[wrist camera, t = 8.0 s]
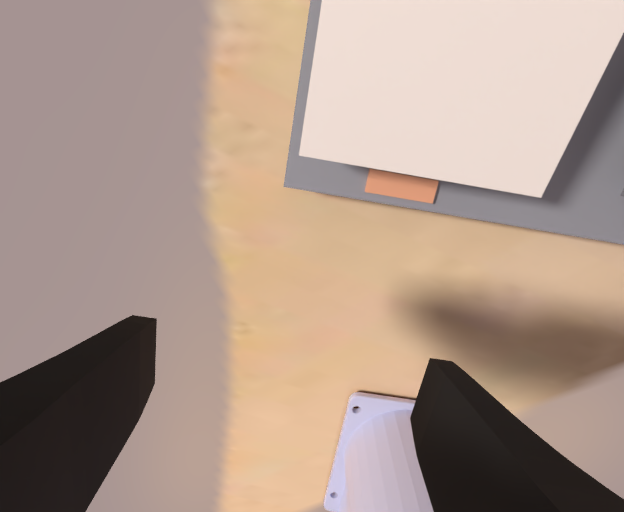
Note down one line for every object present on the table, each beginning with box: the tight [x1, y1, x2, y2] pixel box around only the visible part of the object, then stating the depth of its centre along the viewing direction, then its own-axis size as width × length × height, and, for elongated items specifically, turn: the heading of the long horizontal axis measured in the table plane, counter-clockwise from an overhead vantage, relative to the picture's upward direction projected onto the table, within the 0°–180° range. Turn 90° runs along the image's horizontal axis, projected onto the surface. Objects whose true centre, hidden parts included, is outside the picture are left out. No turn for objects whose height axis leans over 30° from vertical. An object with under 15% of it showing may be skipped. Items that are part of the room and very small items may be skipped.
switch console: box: [284, 0, 624, 244], centre depth 16 cm, size 11×22×4 cm, turn 80°
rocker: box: [299, 0, 624, 198], centre depth 13 cm, size 7×9×2 cm
